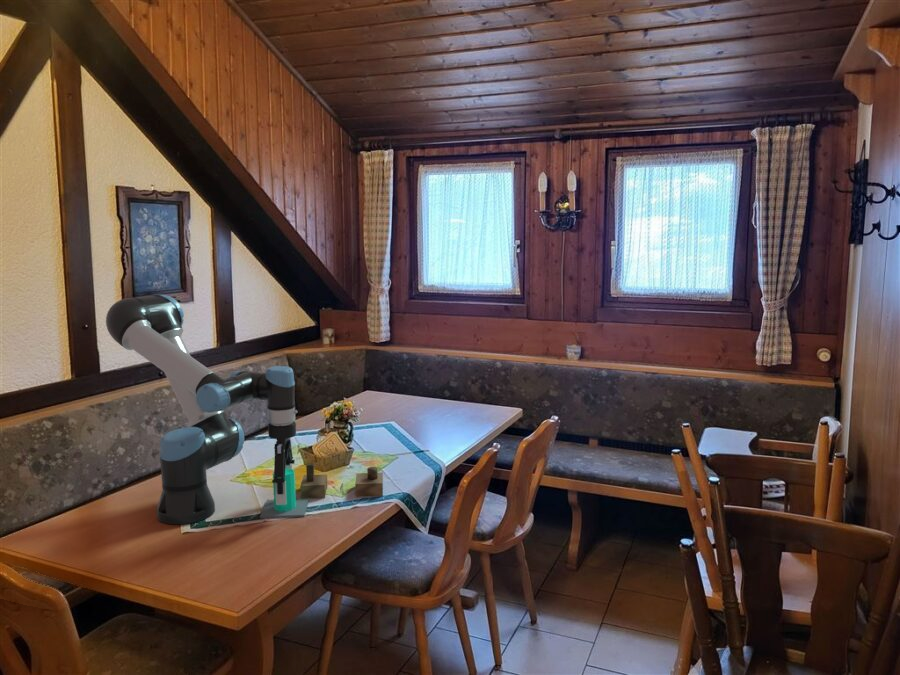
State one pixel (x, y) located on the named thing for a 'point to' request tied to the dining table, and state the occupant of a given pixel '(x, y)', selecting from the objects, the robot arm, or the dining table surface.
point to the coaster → (296, 512)
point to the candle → (287, 492)
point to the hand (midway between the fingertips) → (284, 495)
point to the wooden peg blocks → (363, 486)
